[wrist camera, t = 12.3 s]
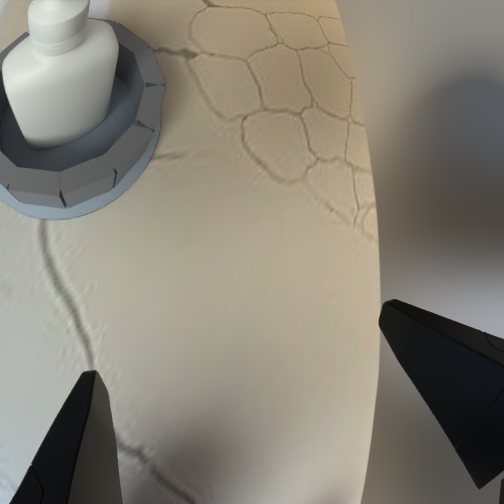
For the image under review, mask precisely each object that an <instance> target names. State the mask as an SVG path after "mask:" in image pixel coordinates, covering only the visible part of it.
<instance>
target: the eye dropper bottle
mask: <svg viewBox="0 0 504 504" xmlns="http://www.w3.org/2000/svg"><path fill="white" fill-rule="evenodd" d="M89 5H90V0H33V2H32V3H31V4H30V6H29V8H28V13H27V15H28V25H29V34H30V35H29V36H28V37H27V38H25V39H24V40H23V41H21V42H20V43H19V44H18V45H17V46H16V47H15V48H14V49H12V50H11V51H10V52H9V54H8V55H7V56H6V58H5V59H4V61H3V65H2V75H3V82H4V87H5V91H6V94H7V97H8V100H9V103H10V105H11V108H12V110H13V113H14V115H15V118H16V120H17V122H18V125H19V127H20V129H21V131H22V134H23V136H24V138H25V140H26V142H27V144H28V145H29V147H30V148H33V149H48V148H54V147H58V146H62V145H65V144H68V143H70V142H72V141H75V140H77V139H79V138H81V137H82V136H84V135H86V134H87V133H89V132H90V131H92V130H93V129H94V128H96V127H97V126H98V125H99V124H100V123H102V122H103V121H104V120H105V118H106V116H107V115H108V110H109V103H110V97H111V91H112V86H113V80H114V75H115V69H116V64H117V58H118V48H119V45H118V42H117V38H116V35H115V33H114V30H113V28H112V27H111V25H109V24H108V23H107V22H104V21H101V20H95V19H88V12H89Z"/></svg>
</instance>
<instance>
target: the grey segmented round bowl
mask: <svg viewBox="0 0 504 504" xmlns="http://www.w3.org/2000/svg"><path fill="white" fill-rule="evenodd" d="M88 19H94V18H88ZM95 20H101V19H95ZM101 21H104V22H107V23H108V24H109V25H111V27H112V28H113V30H114V33H115V35H116V38H117V42H118V45H119V48H118V58H117V64H116V69H115V75H114V80H113V86H112V91H111V97H110V103H109V110H108V115H107V116H106V118H105V120H104V121H103V122H102V123H100V124H99V125H98V126H97V127H96V128H94V129H93V130H92V131H90V132H89V133H87V134H86V135H84V136H82V137H81V138H79V139H77V140H75V141H72V142H70V143H68V144H65V145H62V146H58V147H54V148H48V149H33V148H30V147H29V145H28V144H27V142H26V140H25V138H24V136H23V134H22V131H21V129H20V127H19V125H18V122H17V120H16V118H15V115H14V113H13V110H12V108H11V105H10V103H9V100H8V97H7V94H6V91H5V87H4V82H3V75H2V65H3V61H4V59H5V58H6V56H7V55H8V54H9V52H10V51H11V50H12V49H14V48H15V47H16V46H17V45H18V44H19V43H20V42H21V41H23V40H24V39H25V38H27V37H28V36H29V35H30V34H28V33H27V32H25V33H24V34H22V35H21V36H20V37H19V38H18V39H16V40H15V41H14V42H13V43H11V44H10V45H9V46H8V47H7V48H6V49H4V50H3V51H2V52H1V53H0V199H1V200H2V201H3V202H4V203H6V204H7V205H8V206H9V207H11V208H13V209H14V210H16V211H18V212H20V213H22V214H25V215H27V216H30V217H34V218H39V219H44V220H64V219H71V218H76V217H80V216H84V215H86V214H89V213H92V212H95V211H96V210H98V209H100V208H102V207H104V206H106V205H108V204H109V203H111V202H112V201H114V200H115V199H117V198H118V197H119V196H121V195H122V194H123V193H124V192H125V191H126V190H128V189H129V187H130V186H131V185H132V184H133V183H134V182H135V181H136V180H137V179H138V177H139V176H140V174H141V173H142V172H143V170H144V169H145V167H146V165H147V163H148V162H149V160H150V158H151V156H152V154H153V152H154V149H155V147H156V144H157V140H158V137H159V133H160V125H161V104H162V100H163V96H164V92H165V88H166V86H165V84H166V83H165V81H164V78H163V75H162V73H161V70H160V67H159V65H158V62H157V60H156V57H155V54H154V52H153V49H152V47H151V48H149V47H150V45H149V44H148V43H146V42H145V41H144V40H142V39H141V38H140V37H138V36H137V35H136V34H134V33H133V32H131V31H130V30H129V29H127V28H126V27H124V26H123V25H121V24H120V23H118V24H116V22H115V21H108V20H101Z"/></svg>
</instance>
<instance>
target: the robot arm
mask: <svg viewBox="0 0 504 504" xmlns="http://www.w3.org/2000/svg"><path fill="white" fill-rule="evenodd" d="M379 327H380V329H381V331H382V332H383V334H384V336H385V338H386V340H387V341H388V343H389V345H390V347H391V349H392V351H393V353H394V354H395V356H396V358H397V360H398V362H399V363H400V364H401V366H402V368H403V369H404V371H405V372H406V373H407V375H408V377H409V378H410V380H411V381H412V383H413V384H414V386H415V387H416V389H417V390H418V392H419V393H420V394H421V396H422V398H423V399H424V401H425V402H426V404H427V405H428V407H429V408H430V410H431V412H432V413H433V415H434V416H435V418H436V420H437V421H438V423H439V424H440V426H441V427H442V429H443V431H444V432H445V434H446V436H447V437H448V439H449V440H450V442H451V444H452V445H453V447H454V448H455V451H456V452H457V454H458V456H459V457H460V459H461V460H462V462H463V464H464V466H465V467H466V469H467V471H468V473H469V474H470V476H471V478H472V479H473V481H474V483H475V485H476V486H477V488H478V489H481V488H482V487H483V486H485V485H486V484H487V483H489V482H490V481H491V480H493V479H494V478H495V477H496V476H498V475H499V474H500V473H501V472H502V471H504V339H502V338H499V337H496V336H494V335H491V334H488V333H486V332H482V331H480V330H477V329H475V328H472V327H469V326H467V325H464V324H461V323H459V322H456V321H453V320H451V319H448V318H445V317H442V316H440V315H437V314H434V313H432V312H429V311H426V310H424V309H421V308H418V307H415V306H413V305H410V304H407V303H405V302H402V301H399V300H396V299H392V300H389V301H386V302H384V304H383V305H382V309H381V313H380V317H379ZM31 464H32V465H30V466H29V468H28V470H27V472H26V474H25V476H24V478H23V480H22V482H21V484H20V486H19V488H18V490H17V491H16V493H15V495H14V496H13V498H12V500H11V502H10V503H9V504H123V503H122V495H121V487H120V479H119V469H118V458H117V446H116V438H115V432H114V427H113V421H112V415H111V408H110V401H109V395H108V391H107V388H106V386H105V384H104V382H103V381H102V379H101V377H100V375H99V373H98V372H97V371H96V370H91V371H84V372H83V373H82V374H81V376H80V377H79V379H78V381H77V382H76V384H75V386H74V387H73V389H72V391H71V392H70V394H69V396H68V397H67V399H66V401H65V402H64V404H63V406H62V408H61V409H60V411H59V413H58V415H57V416H56V418H55V420H54V422H53V423H52V425H51V427H50V429H49V431H48V433H47V434H46V436H45V438H44V440H43V442H42V444H41V445H40V447H39V449H38V451H37V453H36V455H35V457H34V459H33V461H32V463H31ZM499 504H504V478H503V479H502V480H501V489H500V499H499Z"/></svg>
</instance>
